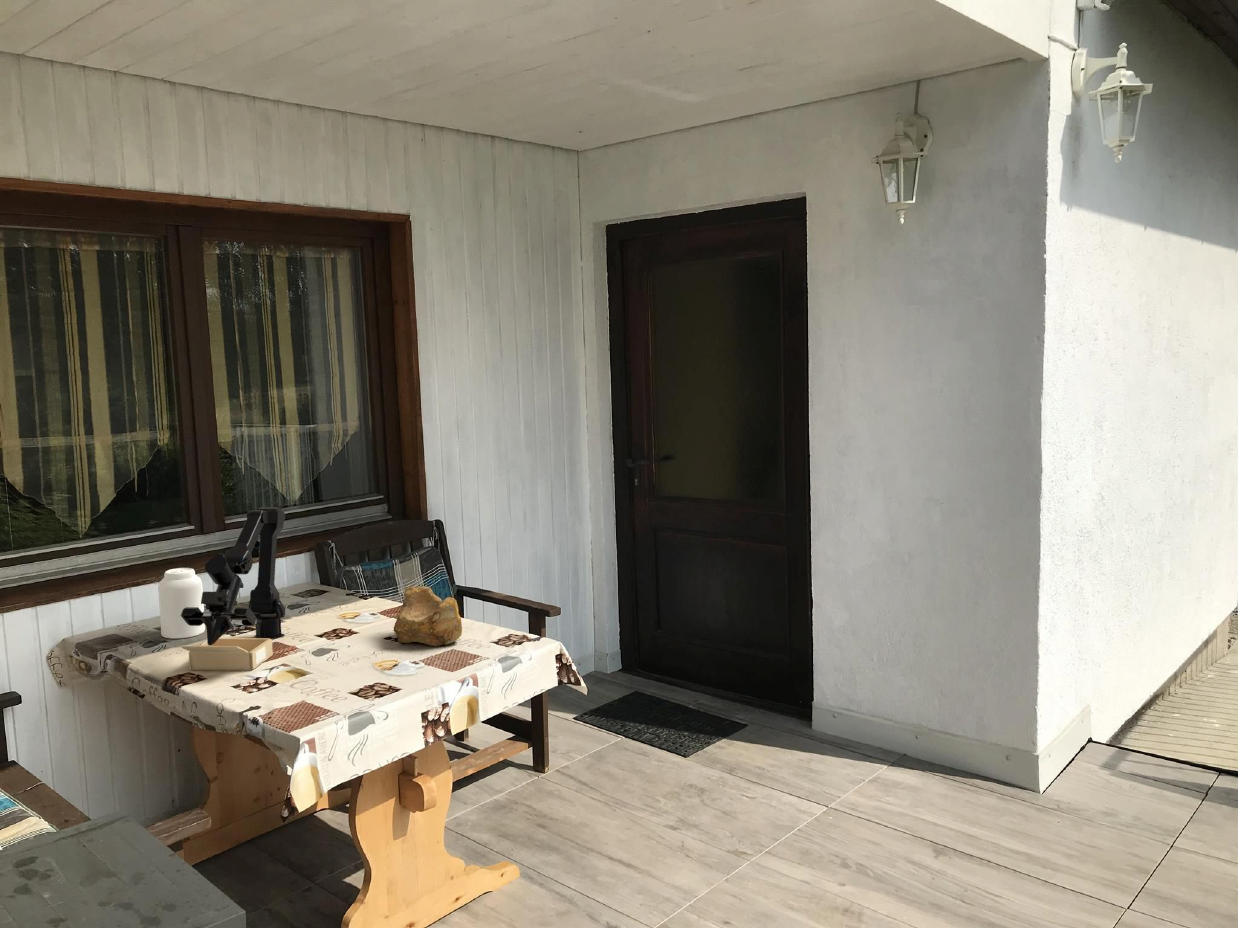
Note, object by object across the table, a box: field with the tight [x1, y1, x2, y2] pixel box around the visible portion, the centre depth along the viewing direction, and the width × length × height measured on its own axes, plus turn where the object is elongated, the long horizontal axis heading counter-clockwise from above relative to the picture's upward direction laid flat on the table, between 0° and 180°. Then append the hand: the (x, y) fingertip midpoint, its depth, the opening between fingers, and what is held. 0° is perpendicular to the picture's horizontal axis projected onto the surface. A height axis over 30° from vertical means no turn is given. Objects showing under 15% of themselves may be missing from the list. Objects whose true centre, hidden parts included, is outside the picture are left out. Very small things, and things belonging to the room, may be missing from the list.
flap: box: [178, 645, 248, 653], centre depth 264 cm, size 1×16×7 cm
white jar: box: [157, 567, 206, 640], centre depth 303 cm, size 12×12×20 cm
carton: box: [188, 637, 274, 671], centre depth 275 cm, size 14×18×5 cm
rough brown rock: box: [393, 585, 463, 648], centre depth 292 cm, size 23×16×15 cm
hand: (209, 644), depth 262 cm, fingers closed
